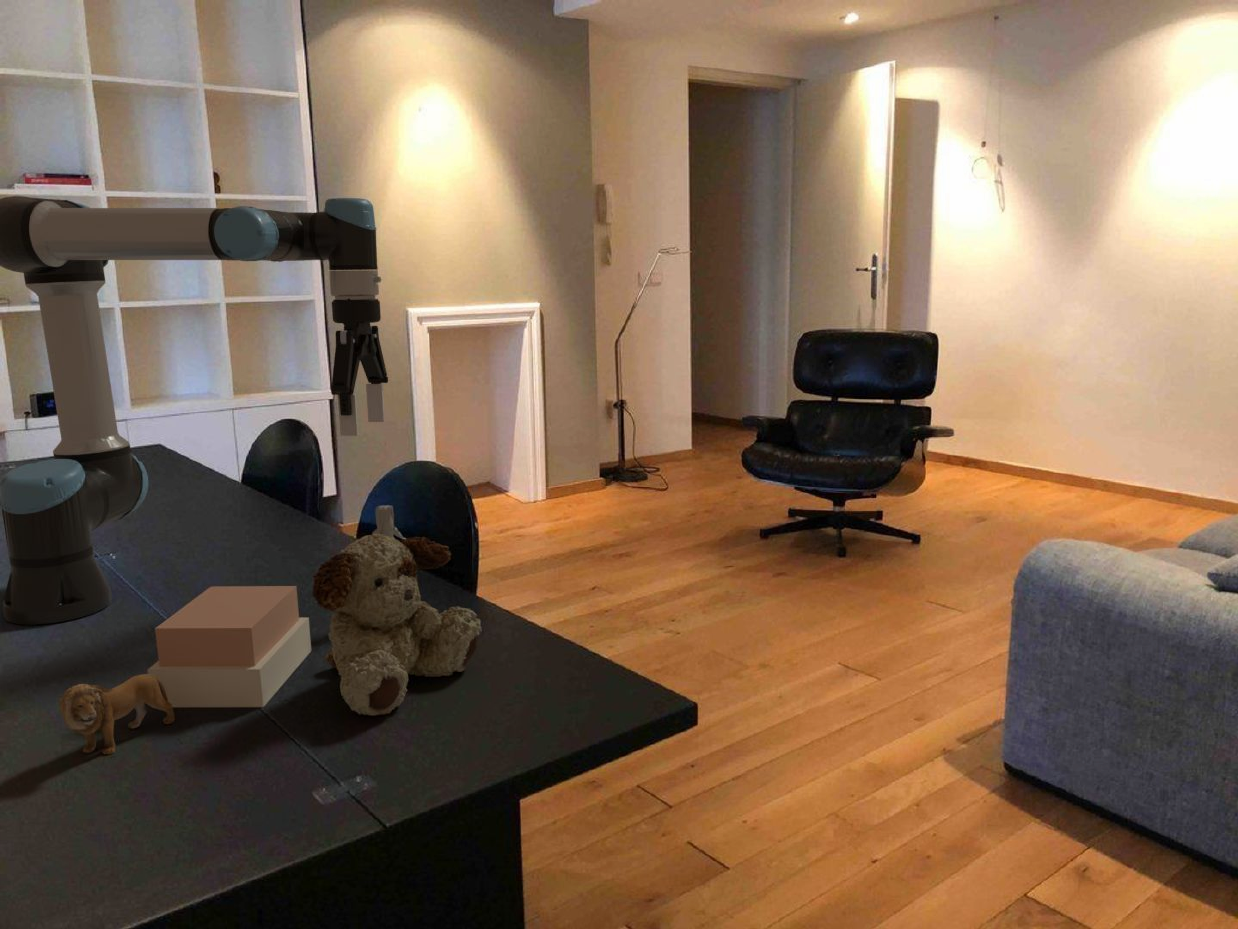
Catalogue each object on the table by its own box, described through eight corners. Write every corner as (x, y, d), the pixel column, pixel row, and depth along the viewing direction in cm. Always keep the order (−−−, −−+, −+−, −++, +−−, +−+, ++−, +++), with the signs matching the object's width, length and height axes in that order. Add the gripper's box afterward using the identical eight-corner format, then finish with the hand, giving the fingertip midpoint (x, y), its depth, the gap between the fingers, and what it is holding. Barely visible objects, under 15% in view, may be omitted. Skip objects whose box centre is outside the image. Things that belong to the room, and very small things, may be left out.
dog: (369, 733, 114) (357, 569, 110) (264, 698, 124) (250, 547, 120) (495, 664, 133) (489, 523, 129) (396, 638, 143) (387, 506, 139)
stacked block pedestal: (151, 707, 121) (142, 631, 119) (213, 651, 139) (207, 584, 137) (263, 707, 121) (256, 631, 119) (311, 650, 139) (305, 583, 137)
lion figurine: (91, 773, 106) (81, 696, 104) (53, 766, 107) (42, 690, 106) (188, 714, 120) (181, 645, 118) (153, 709, 121) (145, 640, 119)
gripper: (352, 300, 144) (361, 441, 149) (401, 295, 169) (407, 416, 173) (302, 300, 145) (313, 441, 149) (358, 295, 169) (366, 416, 174)
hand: (363, 428), depth 161 cm, fingers open, 13 cm apart
